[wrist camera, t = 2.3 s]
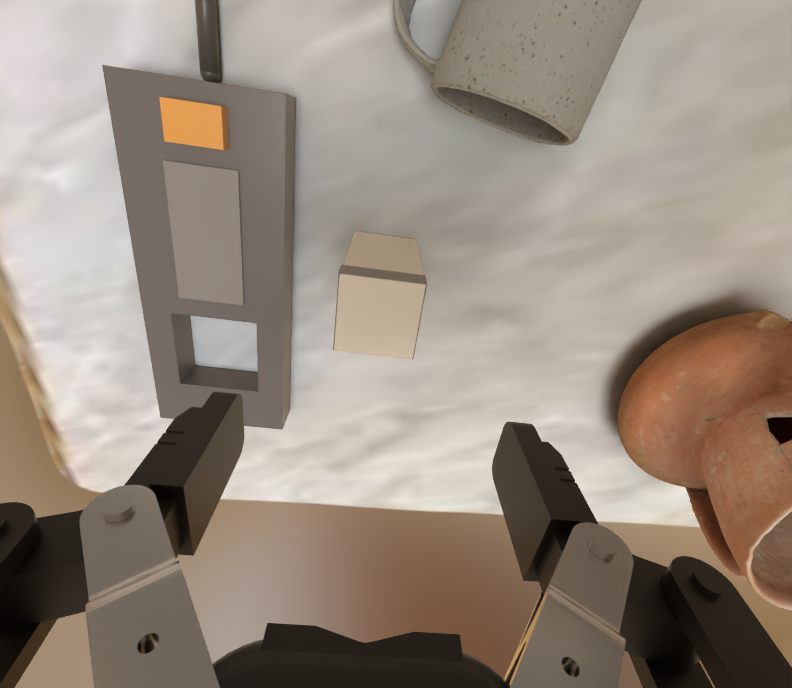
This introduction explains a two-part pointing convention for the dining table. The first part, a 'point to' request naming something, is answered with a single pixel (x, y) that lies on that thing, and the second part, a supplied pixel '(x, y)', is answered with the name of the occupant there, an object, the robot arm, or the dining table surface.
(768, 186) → the dining table surface
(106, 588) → the robot arm
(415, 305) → the block
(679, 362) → the ceramic jug
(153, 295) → the power strip
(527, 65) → the ceramic mug
